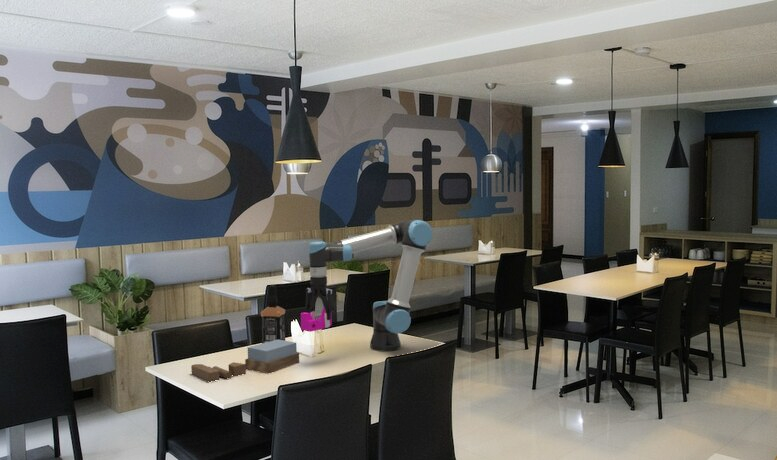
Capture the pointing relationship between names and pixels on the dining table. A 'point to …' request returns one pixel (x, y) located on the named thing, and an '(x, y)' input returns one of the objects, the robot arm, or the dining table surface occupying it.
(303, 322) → the toy block
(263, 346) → the tower cap slab
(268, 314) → the whiskey bottle
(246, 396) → the dining table surface
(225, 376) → the wooden block set
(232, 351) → the dining table surface
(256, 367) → the tower base slab
